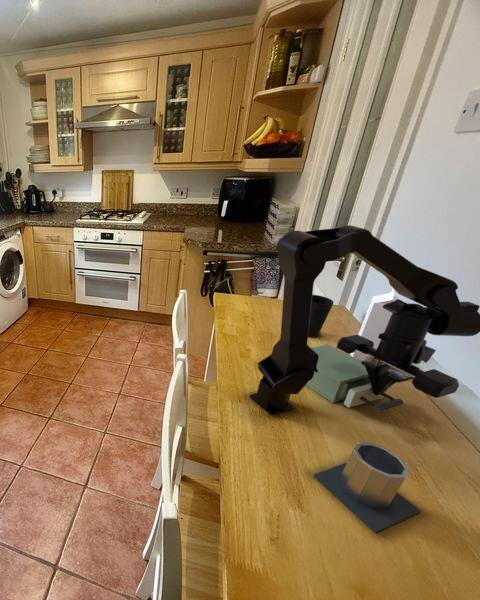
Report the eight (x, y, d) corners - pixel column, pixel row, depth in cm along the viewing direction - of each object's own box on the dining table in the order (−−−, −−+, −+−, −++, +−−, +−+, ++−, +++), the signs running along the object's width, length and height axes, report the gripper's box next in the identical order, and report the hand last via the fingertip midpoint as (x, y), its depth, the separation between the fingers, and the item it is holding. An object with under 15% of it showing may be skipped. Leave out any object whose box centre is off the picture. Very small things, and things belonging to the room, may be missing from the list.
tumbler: (372, 515, 50) (390, 483, 47) (330, 478, 56) (344, 447, 53) (400, 503, 51) (419, 471, 48) (356, 468, 57) (371, 438, 54)
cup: (326, 340, 99) (339, 305, 94) (299, 337, 100) (310, 303, 96) (315, 328, 106) (326, 295, 101) (290, 326, 107) (299, 293, 102)
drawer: (406, 409, 70) (414, 393, 68) (369, 421, 67) (376, 405, 65) (335, 368, 84) (340, 355, 82) (302, 377, 81) (306, 363, 79)
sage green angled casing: (371, 391, 77) (380, 370, 74) (332, 402, 74) (341, 381, 71) (321, 362, 88) (327, 344, 86) (285, 371, 85) (291, 352, 82)
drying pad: (375, 533, 48) (376, 531, 48) (313, 476, 57) (314, 474, 56) (419, 513, 51) (421, 511, 50) (353, 461, 59) (354, 459, 59)
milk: (376, 364, 87) (410, 290, 78) (377, 375, 83) (412, 297, 74) (348, 356, 91) (377, 284, 82) (348, 366, 86) (378, 291, 78)
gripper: (495, 350, 58) (455, 416, 64) (380, 308, 74) (358, 364, 81) (456, 360, 55) (418, 428, 61) (345, 315, 71) (325, 372, 78)
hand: (376, 394), depth 70 cm, fingers closed
